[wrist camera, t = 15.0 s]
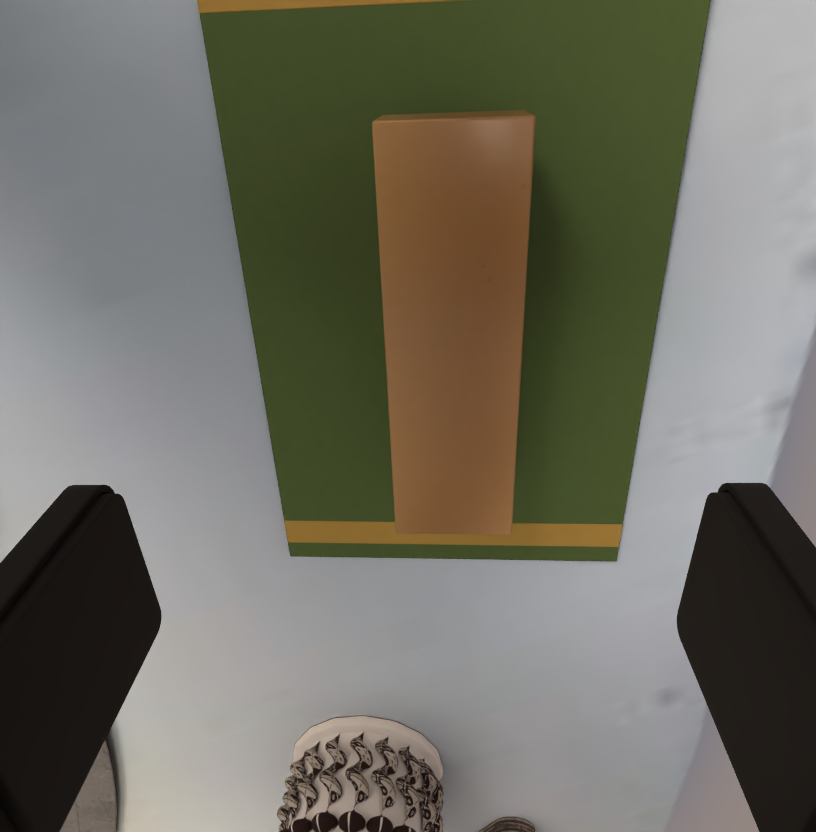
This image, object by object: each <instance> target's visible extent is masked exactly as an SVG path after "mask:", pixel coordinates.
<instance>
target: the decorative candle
mask: <svg viewBox="0 0 816 832" xmlns="http://www.w3.org/2000/svg"><path fill="white" fill-rule="evenodd" d="M290 770H291V772H292V773H293V774H294V775H292V776H290V777H288V778H286V780H285V786H286V787H287V789H288V790H289V791H287V792H286V793H285V794H284V796H283V801H284V803H285V805H283V806H281V807H280V808H279V809H278V812H277V816H278V818H279V819H280V820H281V822H282V824H281V825H280V827H279V832H443V820H442V817H441V814H440V812H441V810H442V807H443V788H442V786H441V783H440V780H441V777H442V775H443V766H442V763H441V760H440V757H439V753H438V750H437V749H436V748H435V747H434V746H433V745H432V744H431V743H430V742H429V741H428V740H427V739H426V738H425V737H424V736H423V735H422V734H421V733H419V732H416V731H414V730H412V729H410V728H408V727H406V726H404V725H401V724H399V723H397V722H395V721H390V720H384V719H378V718H373V717H367V716H357V717H344V718H333V719H331V720H328V721H326V722H323V723H321V724H318V725H316V726H313V727H311V728H309V729H308V730H307V732H306V733H305V734H304V735H303V736H302V737H301V738H300V739H299V740H298V741H297V742H296V744H295V749H294V755H293V762H292V765H291V767H290ZM297 780H298V783H297ZM296 784H297V785H296ZM290 812H291V816H290V819H289V815H290ZM288 819H289V820H288Z"/></svg>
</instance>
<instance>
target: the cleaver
mask: <svg viewBox="0 0 816 832" xmlns="http://www.w3.org/2000/svg"><path fill="white" fill-rule="evenodd" d="M116 815H117V805H116V789H115V782H114V775H113V769H112V764H111V760H110V755H109V751H108V747H107V744H106V740H105V741H104V743H103V745H102V747H101V749H100V751H99V753H98V755H97V757H96V759H95V761H94V763H93V765H92V767H91V769H90V772H89V774H88V776H87V778H86V780H85V782H84V784H83V786H82V788H81V790H80V792H79V794H78V796H77V798H76V800H75V802H74V804H73V806H72V808H71V810H70V812H69V814H68V816H67V818H66V820H65V822H64V824H63V826H62V828H61V830H60V832H116Z"/></svg>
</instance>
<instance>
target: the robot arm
mask: <svg viewBox="0 0 816 832" xmlns="http://www.w3.org/2000/svg"><path fill="white" fill-rule="evenodd" d="M160 624H161V609H160V606H159V603H158V600H157V597H156V594H155V591H154V588H153V585H152V582H151V579H150V576H149V573H148V570H147V567H146V564H145V561H144V558H143V555H142V552H141V549H140V546H139V543H138V540H137V537H136V534H135V531H134V528H133V525H132V522H131V519H130V516H129V513H128V510H127V507H126V504H125V501H124V499H123V497H122V496H121V495H120V494H115V493H114V491H113V489H112V488H111V487H110V486H107V485H72V486H69V487H67V488H66V489H65V490H64V491H63V492H62V493H61V494H60V495H59V497H58V498H57V499H56V500H55V501H54V502H53V503H52V505H51V506H50V507H49V508H48V509H47V510H46V512H45V513H44V514H43V515H42V516H41V517H40V518H39V520H38V521H37V522H36V523H35V524H34V525H33V526H32V528H31V529H30V530H29V531H28V532H27V533H26V534H25V536H24V537H23V538H22V539H21V540H20V541H19V542H18V544H17V545H16V546H15V547H14V548H13V549H12V550H11V552H10V553H9V554H8V555H7V556H6V557H5V559H4V560H3V561H2V562H1V563H0V832H60V830H61V828H62V826H63V824H64V822H65V820H66V818H67V816H68V814H69V812H70V810H71V808H72V806H73V804H74V802H75V800H76V798H77V796H78V794H79V792H80V790H81V788H82V786H83V784H84V782H85V780H86V778H87V776H88V774H89V772H90V769H91V767H92V765H93V763H94V761H95V759H96V757H97V755H98V753H99V751H100V749H101V747H102V745H103V743H104V741H105V739H106V737H107V735H108V733H109V731H110V729H111V727H112V725H113V723H114V721H115V719H116V717H117V715H118V713H119V711H120V709H121V707H122V705H123V703H124V701H125V698H126V696H127V694H128V692H129V690H130V688H131V686H132V684H133V682H134V680H135V678H136V676H137V674H138V672H139V670H140V668H141V666H142V664H143V662H144V660H145V658H146V656H147V654H148V652H149V650H150V648H151V646H152V644H153V642H154V640H155V638H156V636H157V634H158V631H159V628H160ZM677 628H678V633H679V637H680V640H681V642H682V644H683V647H684V649H685V652H686V654H687V657H688V659H689V661H690V664H691V666H692V669H693V671H694V674H695V676H696V679H697V681H698V683H699V686H700V688H701V691H702V693H703V696H704V698H705V700H706V703H707V705H708V708H709V710H710V712H711V715H712V717H713V720H714V722H715V725H716V727H717V729H718V732H719V734H720V737H721V739H722V742H723V744H724V747H725V749H726V751H727V754H728V756H729V759H730V761H731V764H732V766H733V768H734V770H735V773H736V776H737V778H738V781H739V783H740V785H741V788H742V790H743V793H744V795H745V798H746V800H747V802H748V804H749V807H750V810H751V812H752V815H753V817H754V819H755V822H756V824H757V827H758V829H759V831H760V832H816V547H815V546H814V545H813V544H812V542H811V541H810V540H809V538H808V537H807V536H806V535H805V533H804V532H803V530H802V529H801V528H800V526H799V525H798V524H797V523H796V521H795V520H794V519H793V517H792V516H791V515H790V513H789V512H788V511H787V509H786V508H785V507H784V506H783V504H782V503H781V502H780V500H779V499H778V498H777V496H776V495H775V494H774V493H773V491H772V490H771V489H770V488H769V487H768V486H767V485H766V484H763V483H725V484H722V486H721V487H720V488H719V490H718V493H710V494H709V495H708V497H707V499H706V503H705V507H704V511H703V515H702V519H701V523H700V526H699V530H698V534H697V538H696V542H695V546H694V550H693V554H692V558H691V562H690V566H689V570H688V574H687V578H686V582H685V586H684V590H683V594H682V598H681V601H680V605H679V609H678V614H677Z"/></svg>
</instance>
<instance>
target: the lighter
mask: <svg viewBox="0 0 816 832" xmlns="http://www.w3.org/2000/svg"><path fill="white" fill-rule="evenodd" d="M480 832H535V828H534V826H533V825H532V824H531V823H529V822H527V821H525V820H523V819H518V818H502V819H499V820H496V821H495V822H493V823H492V824H490V825H489V826H487V827H486V828H484V829H483V830H481V831H480Z"/></svg>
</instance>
